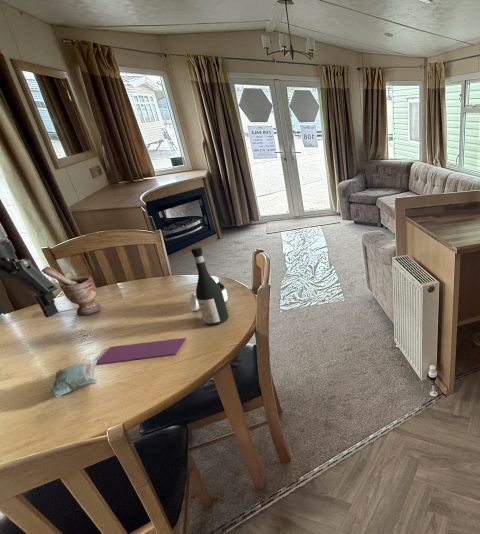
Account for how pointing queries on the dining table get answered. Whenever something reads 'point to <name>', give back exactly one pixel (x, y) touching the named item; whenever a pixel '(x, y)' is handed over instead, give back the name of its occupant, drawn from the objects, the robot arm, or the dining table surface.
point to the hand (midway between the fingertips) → (26, 314)
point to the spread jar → (193, 299)
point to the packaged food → (74, 378)
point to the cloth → (141, 351)
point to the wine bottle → (208, 293)
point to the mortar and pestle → (77, 291)
